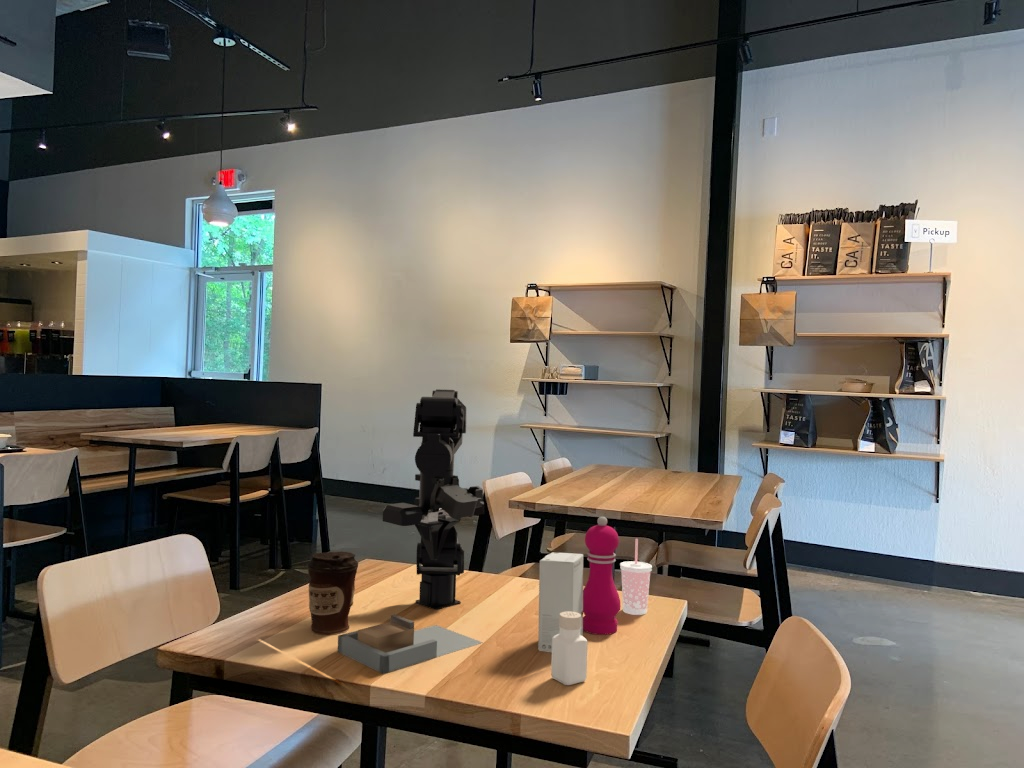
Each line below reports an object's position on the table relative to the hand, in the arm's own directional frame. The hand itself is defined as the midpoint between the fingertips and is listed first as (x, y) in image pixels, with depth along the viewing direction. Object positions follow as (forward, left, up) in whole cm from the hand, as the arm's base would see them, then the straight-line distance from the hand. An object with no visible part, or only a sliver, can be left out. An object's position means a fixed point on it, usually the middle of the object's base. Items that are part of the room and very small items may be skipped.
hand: (434, 559), depth 126 cm
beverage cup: (-37, +17, -13) cm, 42 cm away
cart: (+13, +5, -12) cm, 19 cm away
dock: (+8, +5, -12) cm, 15 cm away
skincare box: (-11, +20, -13) cm, 26 cm away
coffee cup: (+13, -11, -13) cm, 21 cm away
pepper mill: (-23, +19, -13) cm, 32 cm away
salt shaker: (-1, +30, -13) cm, 32 cm away
